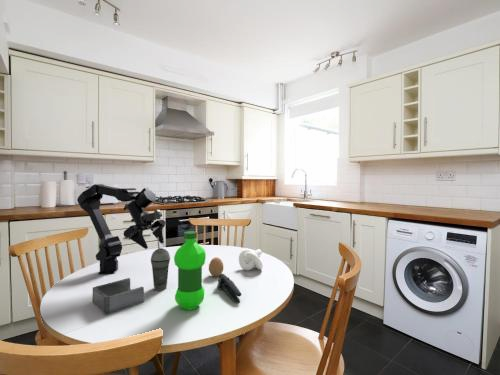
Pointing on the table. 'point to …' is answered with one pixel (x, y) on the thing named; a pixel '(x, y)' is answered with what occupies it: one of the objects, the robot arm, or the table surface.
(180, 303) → the plastic bottle
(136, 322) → the table surface
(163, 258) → the beverage cup
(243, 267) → the white rounded lump
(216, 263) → the egg
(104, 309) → the box
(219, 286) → the can opener
